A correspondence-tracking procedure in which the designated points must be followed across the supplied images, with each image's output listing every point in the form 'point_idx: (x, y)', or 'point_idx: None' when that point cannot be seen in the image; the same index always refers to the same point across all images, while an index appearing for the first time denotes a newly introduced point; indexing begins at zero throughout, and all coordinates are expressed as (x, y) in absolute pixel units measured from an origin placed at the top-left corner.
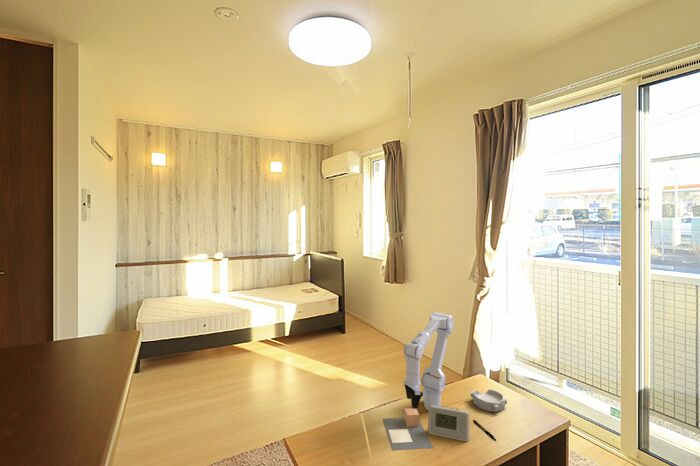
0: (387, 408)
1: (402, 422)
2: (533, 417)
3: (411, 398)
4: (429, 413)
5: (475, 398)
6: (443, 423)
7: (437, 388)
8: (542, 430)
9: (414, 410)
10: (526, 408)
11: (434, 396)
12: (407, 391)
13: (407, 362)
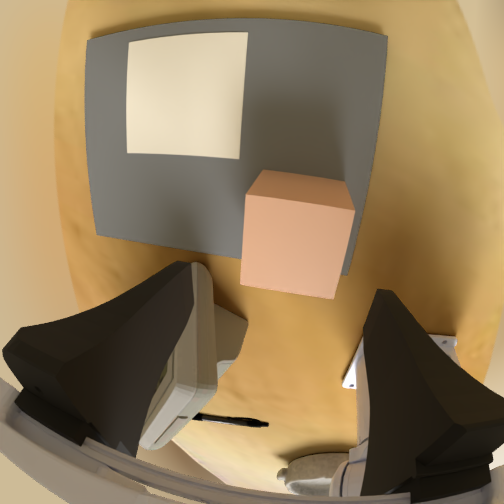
0: (495, 138)
1: (317, 154)
2: (252, 480)
3: (75, 316)
4: (183, 343)
5: (335, 471)
6: None
7: (335, 484)
8: (208, 467)
9: (302, 275)
10: (285, 486)
11: (362, 429)
12: (398, 351)
13: None
